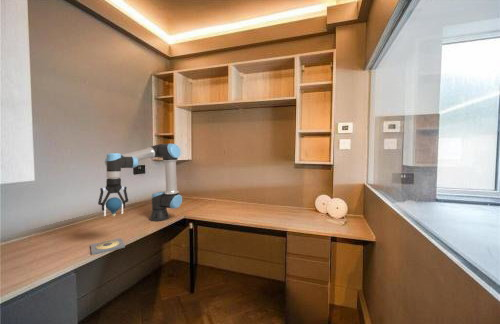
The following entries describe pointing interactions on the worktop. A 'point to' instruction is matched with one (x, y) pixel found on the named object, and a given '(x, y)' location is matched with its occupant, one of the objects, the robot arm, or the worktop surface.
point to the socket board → (107, 246)
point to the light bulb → (113, 205)
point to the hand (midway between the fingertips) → (113, 214)
